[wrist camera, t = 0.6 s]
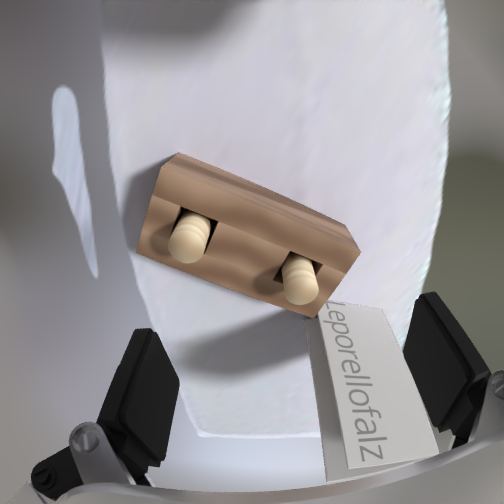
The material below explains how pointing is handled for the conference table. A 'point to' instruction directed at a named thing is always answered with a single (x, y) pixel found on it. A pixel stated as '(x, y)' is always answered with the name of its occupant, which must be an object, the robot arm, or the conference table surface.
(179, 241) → the peg
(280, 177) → the conference table surface
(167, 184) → the walnut block
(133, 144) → the conference table surface
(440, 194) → the conference table surface
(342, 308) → the brochure
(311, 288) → the peg
